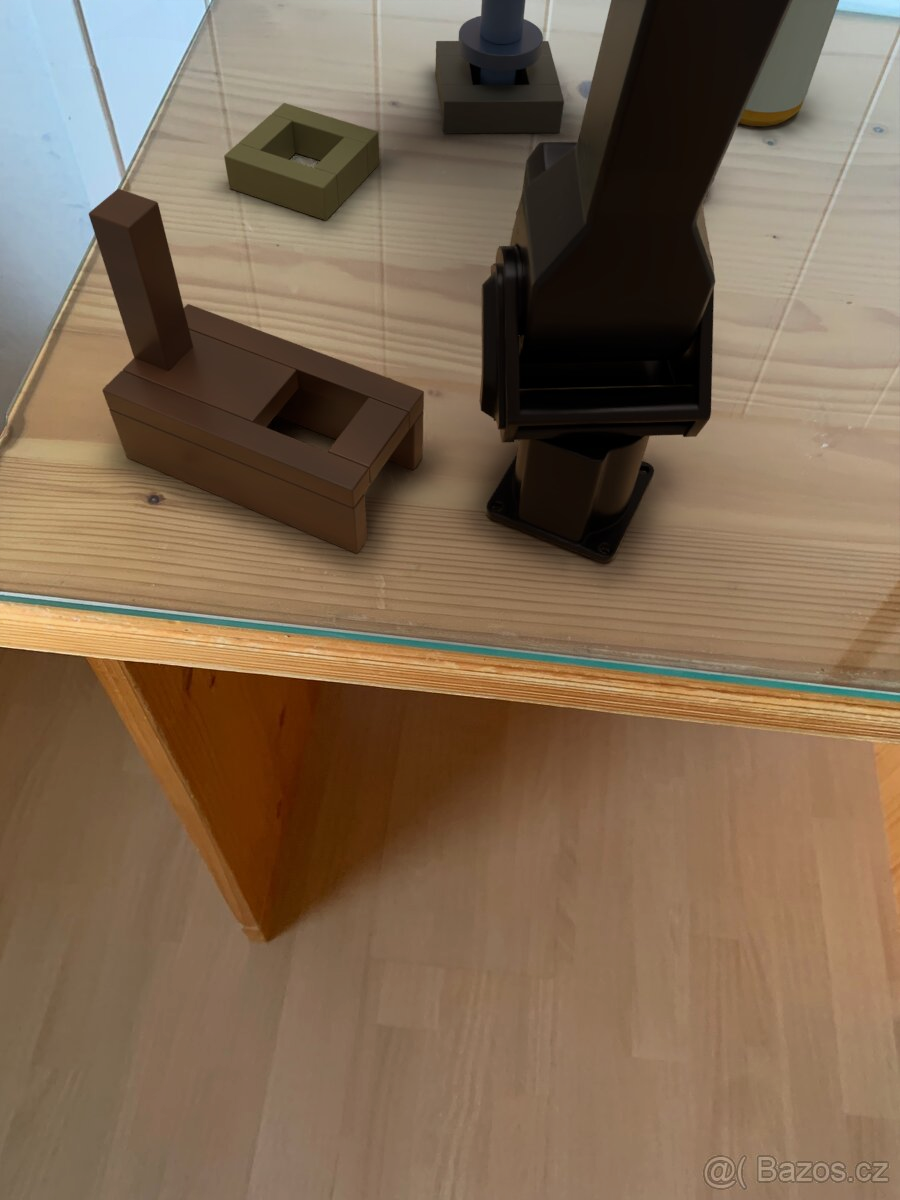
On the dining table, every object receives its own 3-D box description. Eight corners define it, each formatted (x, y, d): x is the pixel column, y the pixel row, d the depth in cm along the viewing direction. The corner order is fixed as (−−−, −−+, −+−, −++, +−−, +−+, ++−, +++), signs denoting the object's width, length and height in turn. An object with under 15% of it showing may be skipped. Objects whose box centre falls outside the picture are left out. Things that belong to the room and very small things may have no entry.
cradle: (326, 221, 57) (323, 188, 56) (229, 188, 59) (223, 155, 57) (380, 164, 61) (379, 131, 59) (287, 134, 62) (283, 102, 61)
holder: (560, 133, 64) (564, 100, 62) (443, 133, 63) (444, 101, 61) (544, 72, 68) (548, 40, 66) (435, 72, 68) (436, 40, 66)
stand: (357, 554, 43) (341, 353, 33) (125, 457, 46) (47, 245, 36) (423, 457, 47) (426, 249, 37) (204, 372, 50) (152, 158, 40)
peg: (516, 131, 64) (532, -33, 55) (442, 110, 65) (447, -54, 57) (547, 94, 67) (567, -68, 58) (476, 73, 68) (485, -88, 59)
